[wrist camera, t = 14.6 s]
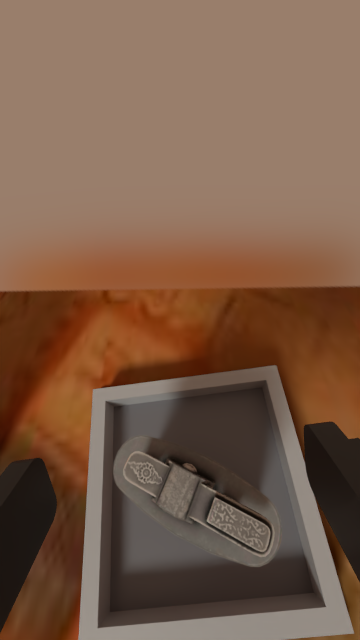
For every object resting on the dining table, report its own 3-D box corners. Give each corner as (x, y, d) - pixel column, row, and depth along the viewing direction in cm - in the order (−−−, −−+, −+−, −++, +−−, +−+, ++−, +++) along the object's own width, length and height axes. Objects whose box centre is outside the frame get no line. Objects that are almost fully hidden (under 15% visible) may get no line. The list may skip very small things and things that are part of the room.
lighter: (137, 484, 19) (75, 491, 11) (158, 437, 21) (119, 409, 12) (248, 548, 17) (283, 622, 8) (264, 490, 18) (308, 503, 10)
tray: (274, 369, 23) (281, 357, 21) (347, 623, 15) (368, 647, 13) (98, 392, 24) (87, 383, 21) (86, 646, 16) (67, 672, 14)
